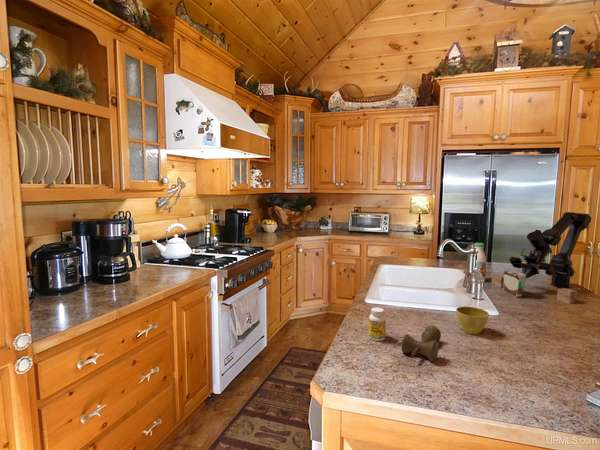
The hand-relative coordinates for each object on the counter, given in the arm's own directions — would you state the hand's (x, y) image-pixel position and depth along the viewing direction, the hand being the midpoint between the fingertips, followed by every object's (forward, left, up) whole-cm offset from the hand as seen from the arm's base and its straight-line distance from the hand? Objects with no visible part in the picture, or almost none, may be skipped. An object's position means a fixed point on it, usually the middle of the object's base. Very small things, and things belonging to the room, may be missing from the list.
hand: (522, 279), depth 162 cm
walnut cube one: (+3, -13, -7) cm, 15 cm away
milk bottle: (+12, -21, -7) cm, 25 cm away
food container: (+3, +2, -7) cm, 8 cm away
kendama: (+60, +64, -7) cm, 88 cm away
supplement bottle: (+72, +56, -7) cm, 92 cm away
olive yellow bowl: (+39, +47, -7) cm, 62 cm away
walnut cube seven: (-15, +9, -7) cm, 18 cm away
